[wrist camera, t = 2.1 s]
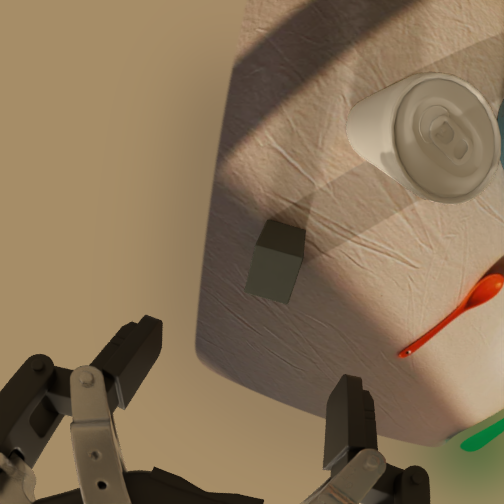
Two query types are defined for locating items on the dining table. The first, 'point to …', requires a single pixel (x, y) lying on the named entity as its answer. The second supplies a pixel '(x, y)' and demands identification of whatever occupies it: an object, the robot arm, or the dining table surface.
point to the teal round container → (501, 130)
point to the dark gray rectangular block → (276, 262)
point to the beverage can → (429, 136)
